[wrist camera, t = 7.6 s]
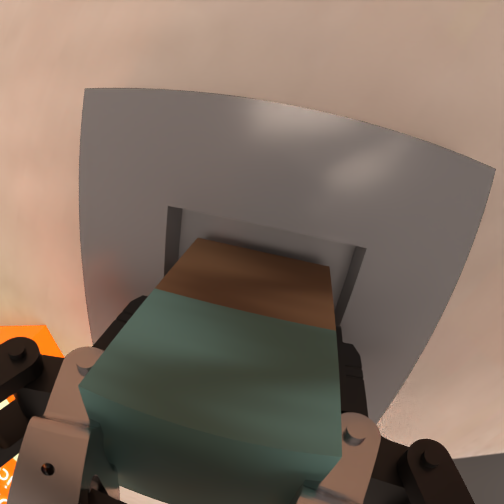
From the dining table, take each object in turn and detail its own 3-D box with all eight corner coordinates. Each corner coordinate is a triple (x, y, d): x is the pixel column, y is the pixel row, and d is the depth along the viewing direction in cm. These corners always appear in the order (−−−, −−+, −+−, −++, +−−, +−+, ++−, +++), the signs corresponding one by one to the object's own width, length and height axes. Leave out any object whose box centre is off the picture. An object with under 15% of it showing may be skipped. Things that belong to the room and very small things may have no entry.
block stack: (329, 266, 11) (341, 457, 4) (297, 364, 12) (278, 527, 6) (197, 237, 11) (77, 385, 5) (189, 338, 13) (115, 484, 6)
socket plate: (462, 157, 10) (495, 169, 8) (358, 406, 16) (361, 444, 14) (123, 90, 11) (84, 88, 9) (121, 351, 17) (100, 381, 15)
